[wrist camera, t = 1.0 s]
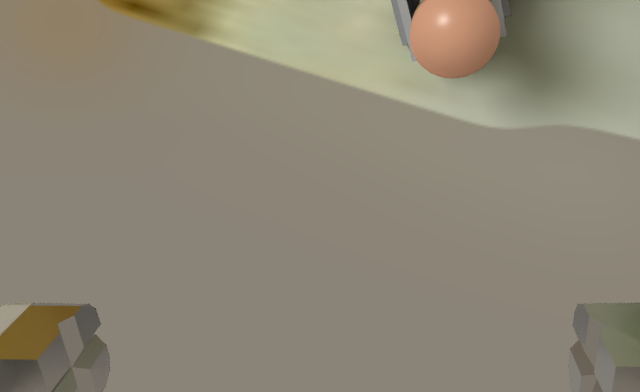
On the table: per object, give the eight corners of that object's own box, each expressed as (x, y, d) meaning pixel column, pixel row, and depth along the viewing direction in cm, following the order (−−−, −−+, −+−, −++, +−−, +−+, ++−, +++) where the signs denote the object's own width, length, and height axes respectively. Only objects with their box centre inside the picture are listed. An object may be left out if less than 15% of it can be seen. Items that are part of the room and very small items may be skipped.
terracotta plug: (476, -49, 32) (491, -23, 25) (490, 23, 34) (507, 65, 27) (405, -26, 33) (400, 4, 26) (421, 42, 35) (421, 87, 28)
